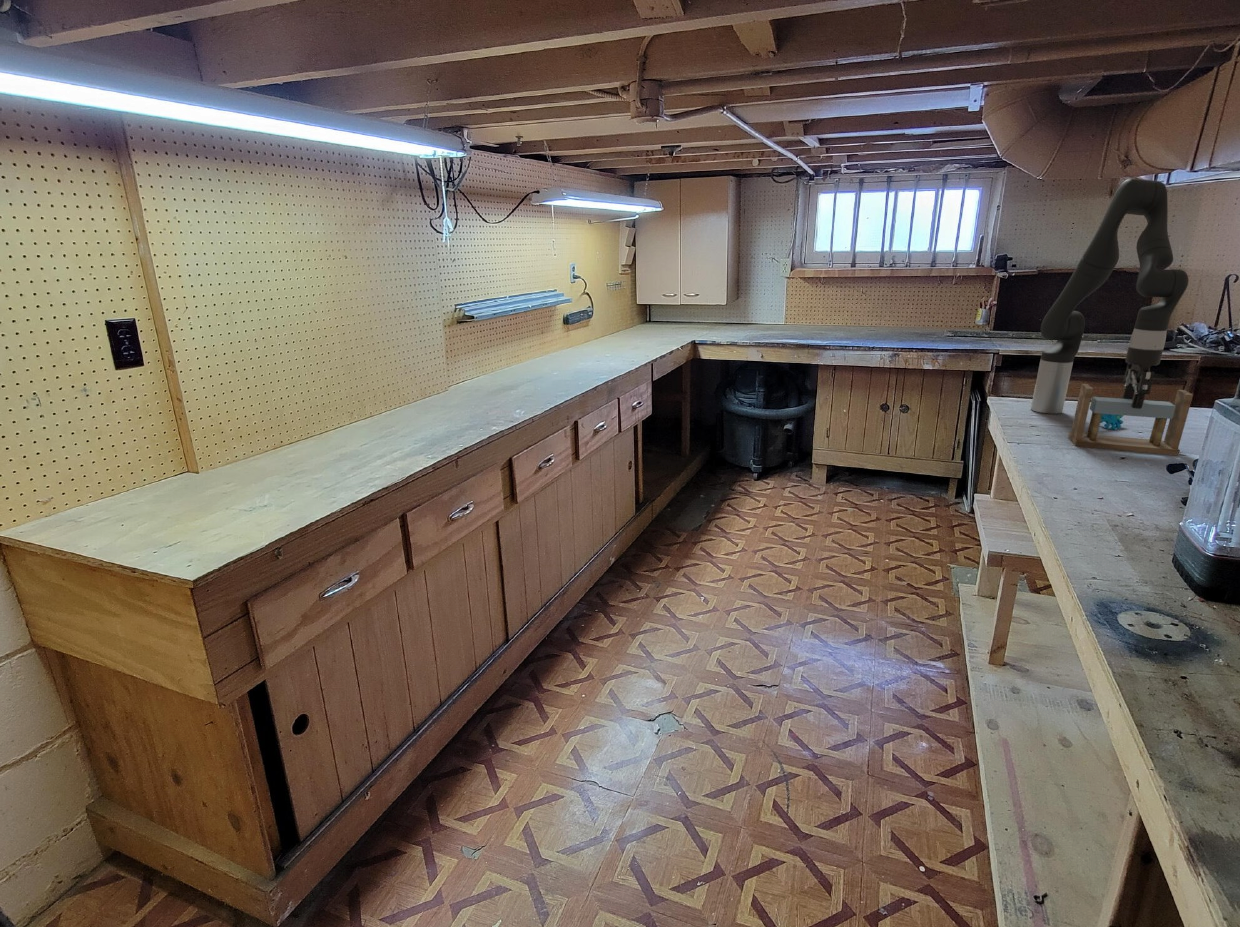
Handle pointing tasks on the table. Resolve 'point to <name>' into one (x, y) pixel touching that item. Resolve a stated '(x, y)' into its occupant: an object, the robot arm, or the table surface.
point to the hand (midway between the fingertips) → (1131, 404)
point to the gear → (1112, 421)
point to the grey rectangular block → (1125, 408)
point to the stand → (1130, 444)
